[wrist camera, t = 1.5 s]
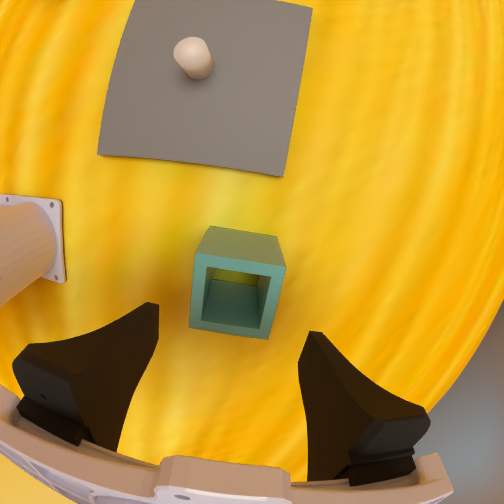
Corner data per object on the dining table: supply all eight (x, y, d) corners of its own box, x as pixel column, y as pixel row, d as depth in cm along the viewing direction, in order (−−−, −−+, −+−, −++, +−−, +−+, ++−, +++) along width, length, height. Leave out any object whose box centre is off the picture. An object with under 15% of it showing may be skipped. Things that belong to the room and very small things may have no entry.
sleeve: (202, 285, 22) (188, 327, 17) (210, 225, 21) (195, 252, 15) (263, 295, 22) (268, 339, 17) (276, 236, 21) (286, 266, 15)
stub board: (103, 154, 18) (71, 156, 14) (140, 2, 14) (120, -21, 10) (281, 176, 19) (290, 181, 15) (310, 13, 15) (323, -14, 11)
